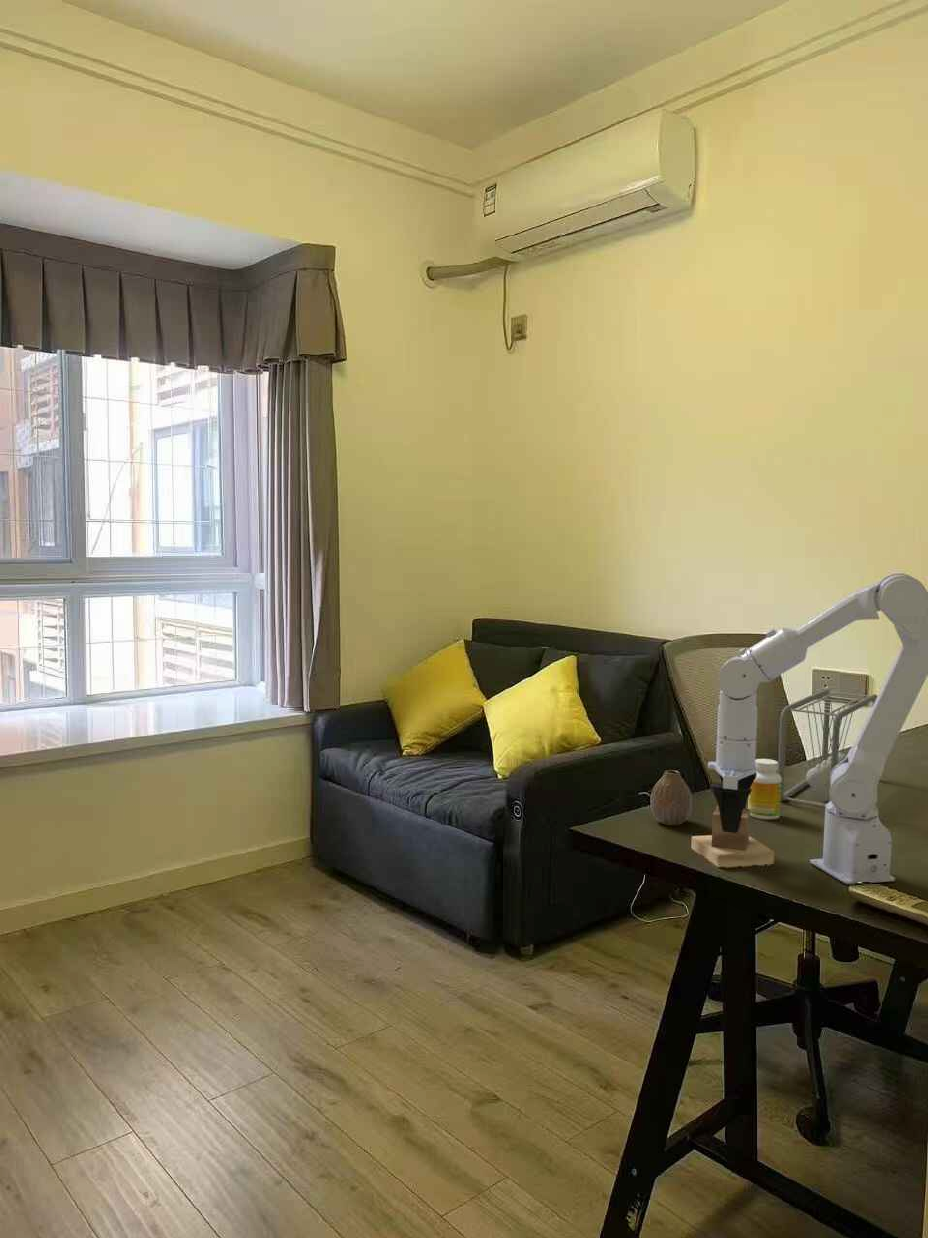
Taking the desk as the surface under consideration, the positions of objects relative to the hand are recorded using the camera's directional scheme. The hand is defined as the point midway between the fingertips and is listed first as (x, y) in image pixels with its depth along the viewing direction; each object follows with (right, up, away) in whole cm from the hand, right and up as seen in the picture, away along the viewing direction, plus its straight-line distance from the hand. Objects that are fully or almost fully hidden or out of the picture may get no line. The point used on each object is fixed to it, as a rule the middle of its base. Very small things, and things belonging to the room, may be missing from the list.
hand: (732, 824), depth 150 cm
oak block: (0, -6, 0) cm, 6 cm away
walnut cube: (0, -3, 0) cm, 3 cm away
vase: (-6, -4, +18) cm, 19 cm away
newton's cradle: (+29, -2, +40) cm, 50 cm away
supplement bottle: (+12, -3, +22) cm, 25 cm away
